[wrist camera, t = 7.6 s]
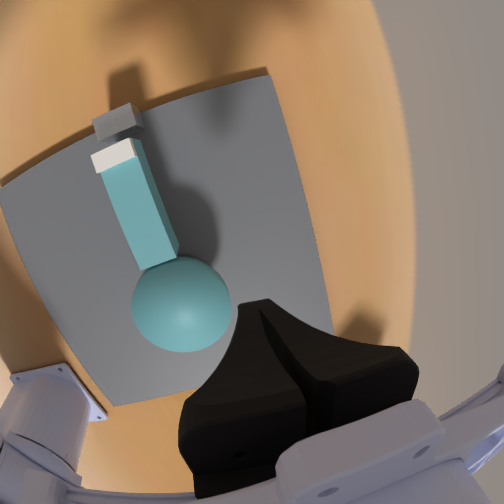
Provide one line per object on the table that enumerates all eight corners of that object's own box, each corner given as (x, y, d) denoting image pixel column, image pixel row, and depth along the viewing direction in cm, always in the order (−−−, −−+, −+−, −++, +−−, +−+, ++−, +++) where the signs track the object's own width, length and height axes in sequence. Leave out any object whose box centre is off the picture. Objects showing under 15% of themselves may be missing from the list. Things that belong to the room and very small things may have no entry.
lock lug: (112, 143, 17) (98, 141, 14) (107, 124, 16) (91, 119, 13) (145, 129, 17) (136, 124, 14) (140, 110, 16) (129, 102, 14)
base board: (115, 400, 24) (113, 406, 23) (1, 189, 16) (-4, 191, 16) (331, 335, 26) (335, 340, 25) (267, 77, 18) (269, 74, 17)
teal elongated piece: (239, 315, 20) (246, 340, 17) (161, 341, 20) (157, 368, 17) (170, 128, 16) (164, 122, 13) (81, 167, 15) (61, 171, 12)
